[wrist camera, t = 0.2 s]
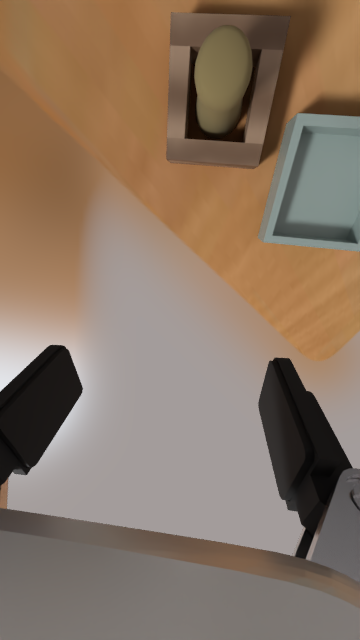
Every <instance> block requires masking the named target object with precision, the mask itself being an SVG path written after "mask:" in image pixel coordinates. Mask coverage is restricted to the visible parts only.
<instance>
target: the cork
mask: <svg viewBox="0 0 360 640" xmlns="http://www.w3.org/2000/svg"><path fill="white" fill-rule="evenodd" d="M252 67H253V66H252V51H251V47H250V44H249V41H248V38H247V37H246V36H245V34H244V33H243V31H242V30H241V29H239V28H237V27H236V26H234V25H222V26H220V27H218V28H216V29H214V30H213V31H212V32H211V33H210V34H209V35H208V36H207V37H206V39H205V40H204V42H203V44H202V46H201V47H200V50H199V53H198V56H197V60H196V63H195V74H194V78H195V85H196V92H197V94H198V95H197V100H196V108H195V115H196V122H197V124H198V126H199V129H200V130H201V131H202V132H203V134H204V135H205V136H207V137H209V138H211V139H220V138H223V137H225V136H227V135H228V134H229V133H231V132H232V130H233V129H234V128H235V126H236V125H237V123H238V121H239V118H240V116H241V110H242V98H243V96H244V94H245V92H246V89H247V87H248V84H249V82H250V78H251V73H252Z"/></svg>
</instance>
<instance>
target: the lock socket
mask: <svg viewBox="0 0 360 640" xmlns="http://www.w3.org/2000/svg"><path fill="white" fill-rule="evenodd" d="M290 18H291V16H269V15H237V14H206V13H174V12H171V28H170V61H169V93H168V126H167V158H166V159H167V160H168V161H169V162H170V163H180V164H193V165H206V166H220V167H233V168H246V169H254V168H256V167H258V165H259V161H260V156H261V152H262V147H263V142H264V138H265V133H266V129H267V124H268V119H269V115H270V110H271V105H272V101H273V96H274V92H275V87H276V82H277V78H278V73H279V69H280V64H281V59H282V55H283V50H284V45H285V41H286V36H287V32H288V27H289V22H290ZM222 25H234V26H236V27H237V28H239V29H241V30H242V31H243V33H244V34H245V36H246V37H247V38H248V41H249V44H250V47H251V51H252V66H253V67H255V73H254V79H253V84H252V90H251V96H250V102H249V107H248V113H247V119H246V124H245V130H244V136H243V141H242V143H240V142H226V141H211V140H197V139H187V134H188V119H189V105H190V90H191V76H192V64H195V63H196V60H197V56H198V53H199V50H200V47H201V46H202V44H203V42H204V40H205V39H206V37H207V36H208V35H209V34H210V33H211V32H212V31H213V30H214V29H216V28H218V27H220V26H222Z"/></svg>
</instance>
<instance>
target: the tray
mask: <svg viewBox="0 0 360 640" xmlns="http://www.w3.org/2000/svg"><path fill="white" fill-rule="evenodd" d="M258 238H259V239H260V240H261V241H263V242H267V243H277V244H287V245H298V246H308V247H318V248H329V249H339V250H349V251H360V117H355V116H338V115H321V114H304V113H297V114H296V115H295V116H294V117H293V118H292V119H291V120H290V121H289V122H288V123H287V124H286V128H285V132H284V136H283V140H282V143H281V147H280V151H279V155H278V159H277V163H276V167H275V171H274V175H273V179H272V183H271V187H270V191H269V195H268V199H267V203H266V207H265V211H264V215H263V219H262V223H261V227H260V231H259V235H258Z"/></svg>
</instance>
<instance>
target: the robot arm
mask: <svg viewBox="0 0 360 640" xmlns="http://www.w3.org/2000/svg"><path fill="white" fill-rule="evenodd" d="M82 390H83V388H82V385H81V382H80V379H79V377H78V374H77V371H76V369H75V366H74V363H73V361H72V358H71V356H70V353H69V350H68V349H66V347H65V346H62V345H50V346H48V347H47V348H46V349H45V350H44V351H43V352H42V353H41V354H40V355H39V356H38V357H36V359H34V360H33V361H32V362H31V363H30V364H29V365H28V366H27V367H26V368H25V369H24V370H23V371H22V372H21V373H20V374H19V375H17V376H16V377H15V378H14V379H13V380H12V381H11V382H10V383H9V384H8V385H7V386H6V387H5V388H4V389H3V390H2V391H1V392H0V640H360V469H356V468H355V469H354V468H352V466H351V464H350V462H349V460H348V458H347V456H346V454H345V453H344V451H343V449H342V447H341V445H340V443H339V441H338V439H337V437H336V436H335V434H334V432H333V430H332V428H331V426H330V424H329V422H328V421H327V419H326V417H325V415H324V413H323V411H322V409H321V407H320V406H319V404H318V402H317V400H316V398H315V396H314V395H313V394H312V393H311V392H309V391H306V389H305V388H304V385H303V384H302V382H301V380H300V378H299V376H298V374H297V372H296V370H295V368H294V366H293V364H292V362H291V360H290V359H289V358H274V360H273V361H269V364H268V368H267V371H266V375H265V379H264V383H263V387H262V391H261V394H260V399H259V411H260V416H261V420H262V424H263V428H264V432H265V436H266V441H267V445H268V449H269V453H270V457H271V461H272V466H273V470H274V474H275V478H276V483H277V487H278V491H279V494H280V497H281V499H282V500H286V504H287V508H288V510H292V511H298V514H299V517H300V521H301V524H302V525H303V526H304V528H303V530H302V533H301V535H300V537H299V540H298V542H297V545H296V547H295V550H294V552H293V555H292V556H290V555H286V554H281V553H277V552H272V551H266V550H260V549H255V548H250V547H245V546H239V545H234V544H227V543H222V542H216V541H210V540H204V539H197V538H191V537H185V536H179V535H172V534H166V533H160V532H154V531H147V530H141V529H134V528H128V527H122V526H115V525H109V524H102V523H96V522H89V521H83V520H76V519H70V518H64V517H57V516H50V515H43V514H37V513H30V512H23V511H17V510H10V509H7V496H8V495H7V494H8V477H9V476H10V474H11V473H12V472H14V473H15V474H21V475H27V474H28V472H29V471H30V469H31V468H32V467H33V466H35V465H36V464H37V463H38V461H39V460H40V458H41V457H42V455H43V453H44V452H45V450H46V448H47V447H48V446H49V444H50V443H51V441H52V439H53V438H54V436H55V435H56V433H57V432H58V430H59V428H60V427H61V425H62V424H63V422H64V421H65V419H66V417H67V416H68V414H69V413H70V411H71V410H72V408H73V406H74V405H75V403H76V402H77V400H78V399H79V397H80V395H81V393H82Z"/></svg>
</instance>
